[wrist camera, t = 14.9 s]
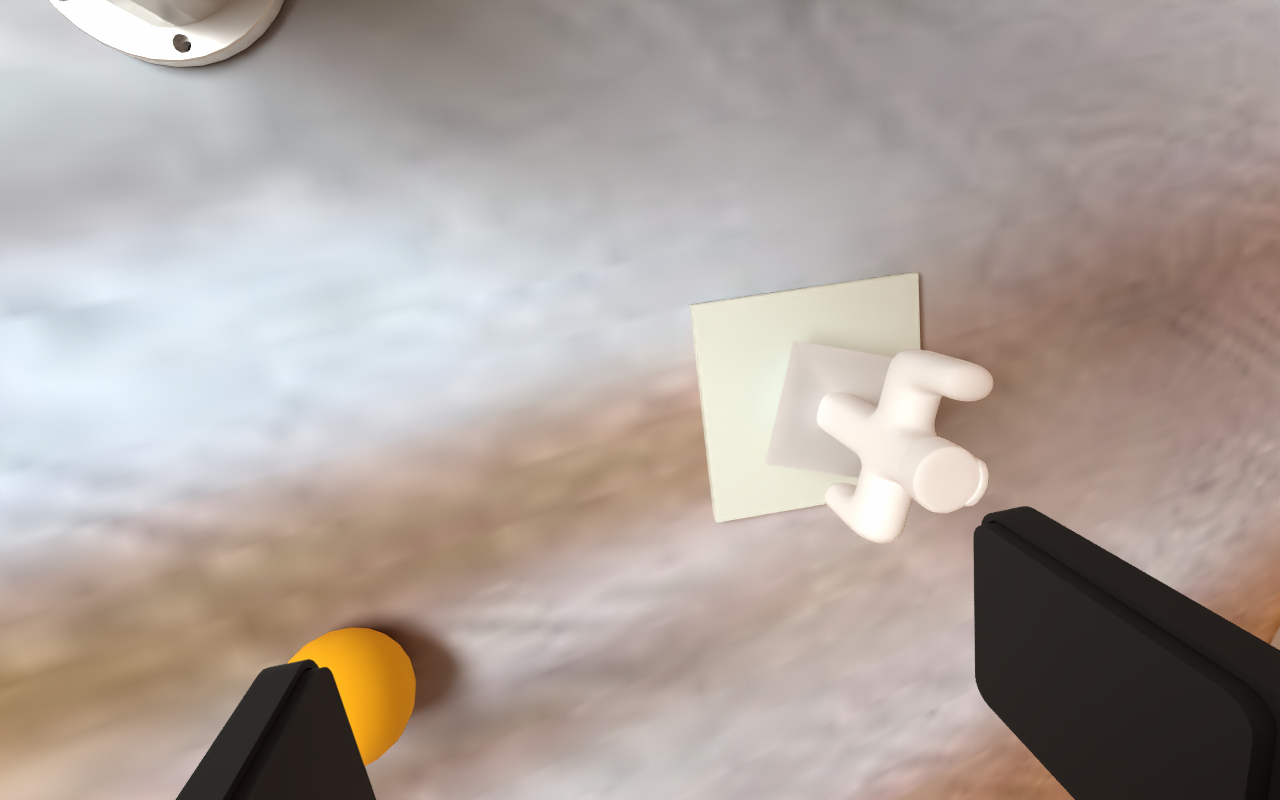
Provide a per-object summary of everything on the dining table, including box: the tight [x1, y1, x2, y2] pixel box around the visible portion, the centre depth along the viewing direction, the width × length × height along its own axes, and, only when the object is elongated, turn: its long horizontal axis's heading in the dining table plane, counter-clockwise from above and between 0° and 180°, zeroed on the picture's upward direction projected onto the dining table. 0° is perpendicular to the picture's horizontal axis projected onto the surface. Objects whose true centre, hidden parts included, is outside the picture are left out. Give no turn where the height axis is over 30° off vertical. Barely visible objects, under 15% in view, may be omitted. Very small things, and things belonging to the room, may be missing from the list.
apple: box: [287, 627, 416, 766], centre depth 38 cm, size 8×8×8 cm
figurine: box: [765, 340, 993, 543], centre depth 32 cm, size 7×9×15 cm
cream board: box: [690, 272, 920, 523], centre depth 40 cm, size 14×14×1 cm
